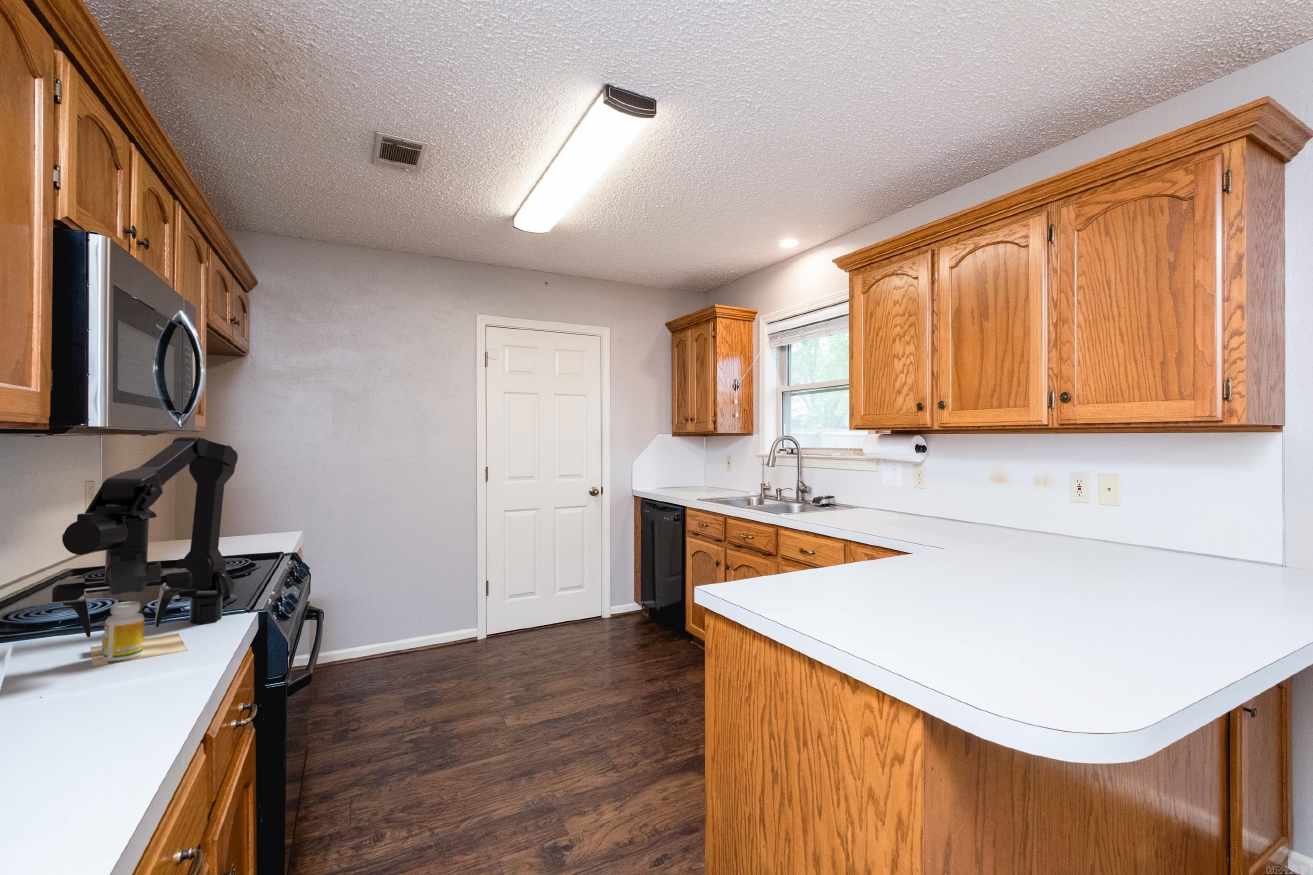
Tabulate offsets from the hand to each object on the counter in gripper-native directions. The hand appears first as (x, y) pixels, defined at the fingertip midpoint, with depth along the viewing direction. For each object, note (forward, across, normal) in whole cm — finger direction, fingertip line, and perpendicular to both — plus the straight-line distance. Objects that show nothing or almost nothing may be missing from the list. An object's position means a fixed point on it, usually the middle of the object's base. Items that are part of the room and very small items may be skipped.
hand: (123, 631), depth 107 cm
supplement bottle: (+5, 0, 0) cm, 5 cm away
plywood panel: (+5, +2, +4) cm, 7 cm away
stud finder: (+5, 0, +6) cm, 8 cm away
